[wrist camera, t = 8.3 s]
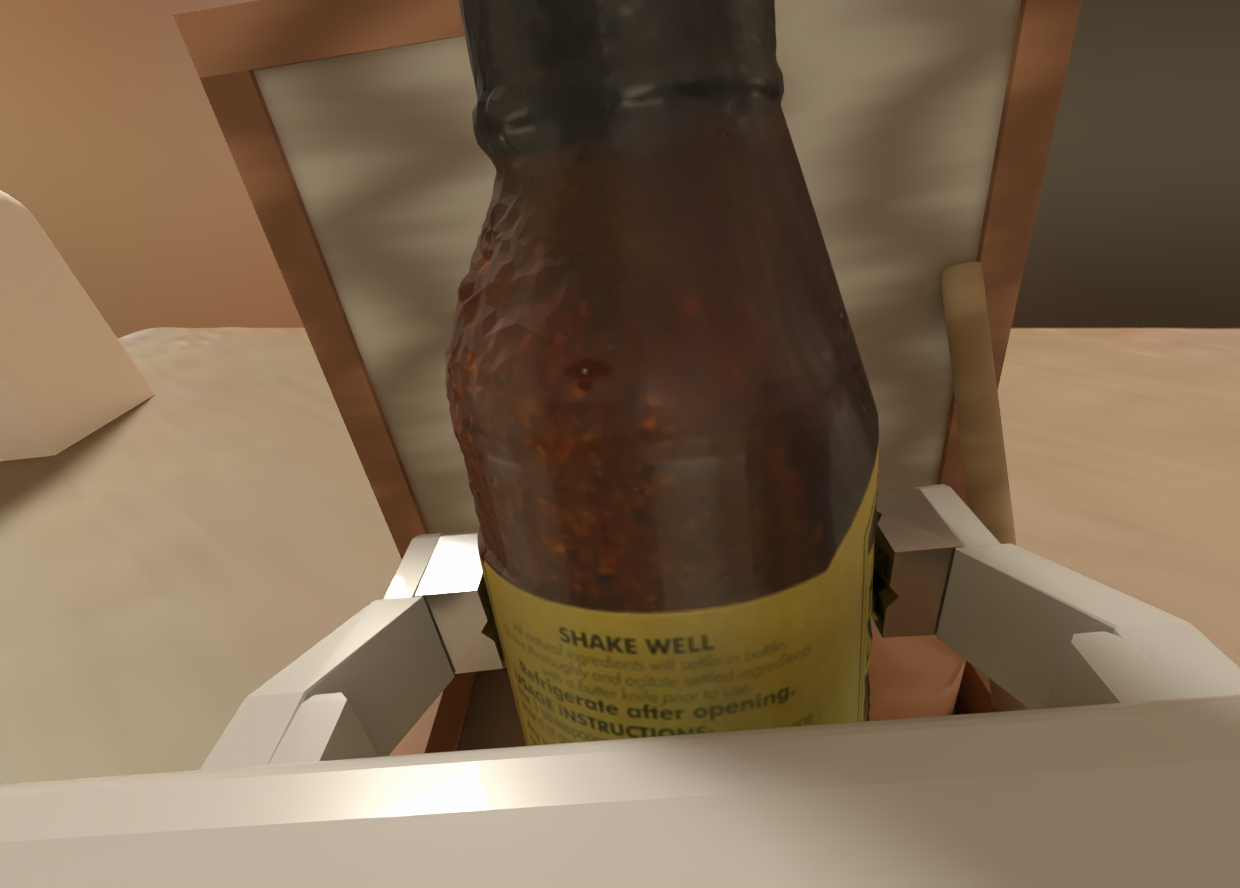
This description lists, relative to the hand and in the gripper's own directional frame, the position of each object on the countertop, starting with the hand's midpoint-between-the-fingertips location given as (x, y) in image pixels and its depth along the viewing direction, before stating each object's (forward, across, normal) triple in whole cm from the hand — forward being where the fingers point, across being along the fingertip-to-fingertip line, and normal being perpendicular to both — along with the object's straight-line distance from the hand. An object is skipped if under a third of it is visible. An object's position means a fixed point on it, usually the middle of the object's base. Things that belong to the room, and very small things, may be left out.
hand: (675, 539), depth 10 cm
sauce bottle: (-2, 0, +9) cm, 9 cm away
